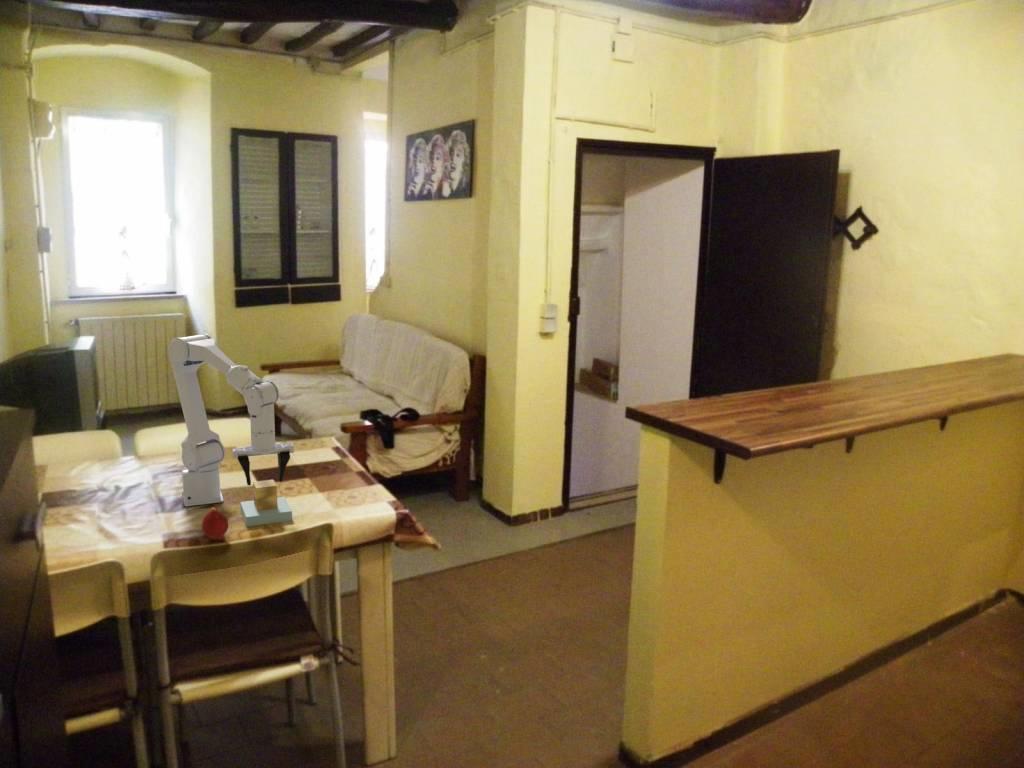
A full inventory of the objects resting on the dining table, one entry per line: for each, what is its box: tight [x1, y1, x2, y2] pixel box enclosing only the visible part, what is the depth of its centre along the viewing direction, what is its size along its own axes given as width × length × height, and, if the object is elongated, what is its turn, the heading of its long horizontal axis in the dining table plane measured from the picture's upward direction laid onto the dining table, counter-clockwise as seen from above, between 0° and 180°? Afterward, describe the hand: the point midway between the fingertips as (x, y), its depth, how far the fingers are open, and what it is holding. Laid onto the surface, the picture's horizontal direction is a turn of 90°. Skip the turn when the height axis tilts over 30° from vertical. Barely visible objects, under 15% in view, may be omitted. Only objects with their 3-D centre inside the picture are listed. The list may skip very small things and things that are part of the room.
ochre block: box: [252, 479, 278, 511], centre depth 196 cm, size 5×5×6 cm
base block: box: [239, 496, 293, 527], centre depth 197 cm, size 11×11×3 cm
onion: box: [201, 507, 229, 541], centre depth 181 cm, size 6×6×8 cm
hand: (264, 482), depth 195 cm, fingers open, 7 cm apart
